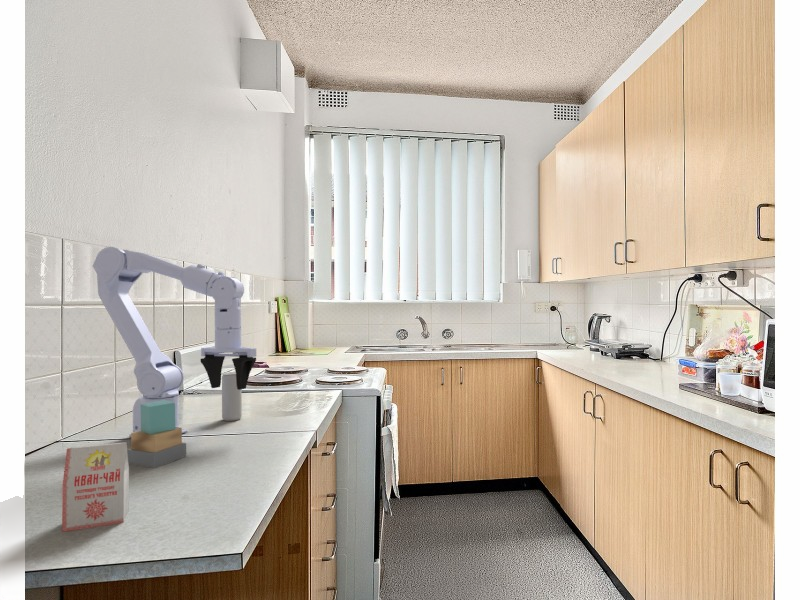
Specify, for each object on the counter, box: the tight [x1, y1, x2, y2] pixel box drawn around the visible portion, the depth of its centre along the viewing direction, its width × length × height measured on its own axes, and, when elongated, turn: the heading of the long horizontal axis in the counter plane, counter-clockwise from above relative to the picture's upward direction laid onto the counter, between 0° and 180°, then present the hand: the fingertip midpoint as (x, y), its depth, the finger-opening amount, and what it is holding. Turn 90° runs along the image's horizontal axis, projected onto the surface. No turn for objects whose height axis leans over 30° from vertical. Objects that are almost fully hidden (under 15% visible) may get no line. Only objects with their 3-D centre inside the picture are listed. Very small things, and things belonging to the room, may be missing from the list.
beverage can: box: [221, 371, 243, 422], centre depth 120 cm, size 5×5×12 cm
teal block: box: [141, 400, 175, 434], centre depth 87 cm, size 4×4×5 cm
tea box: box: [61, 441, 130, 533], centre depth 61 cm, size 4×7×10 cm, turn 111°
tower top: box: [130, 427, 183, 452], centre depth 87 cm, size 6×6×3 cm
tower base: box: [127, 442, 187, 469], centre depth 87 cm, size 7×7×3 cm
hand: (228, 388), depth 106 cm, fingers open, 7 cm apart
